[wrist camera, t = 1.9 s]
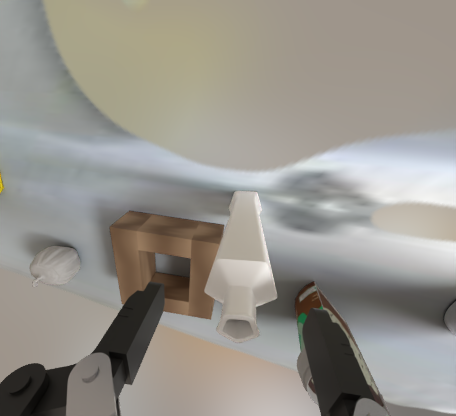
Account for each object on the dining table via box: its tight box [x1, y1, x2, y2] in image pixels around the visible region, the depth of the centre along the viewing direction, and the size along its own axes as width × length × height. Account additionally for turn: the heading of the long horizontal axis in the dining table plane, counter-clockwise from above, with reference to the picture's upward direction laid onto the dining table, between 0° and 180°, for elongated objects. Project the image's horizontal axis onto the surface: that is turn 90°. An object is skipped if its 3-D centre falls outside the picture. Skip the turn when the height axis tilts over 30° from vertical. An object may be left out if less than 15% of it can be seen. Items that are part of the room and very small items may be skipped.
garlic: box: [30, 246, 81, 287], centre depth 28 cm, size 6×5×5 cm
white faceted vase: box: [204, 191, 277, 343], centre depth 17 cm, size 5×4×15 cm
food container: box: [295, 282, 391, 416], centre depth 25 cm, size 12×6×10 cm, turn 39°
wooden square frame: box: [110, 211, 224, 319], centre depth 26 cm, size 12×12×4 cm
